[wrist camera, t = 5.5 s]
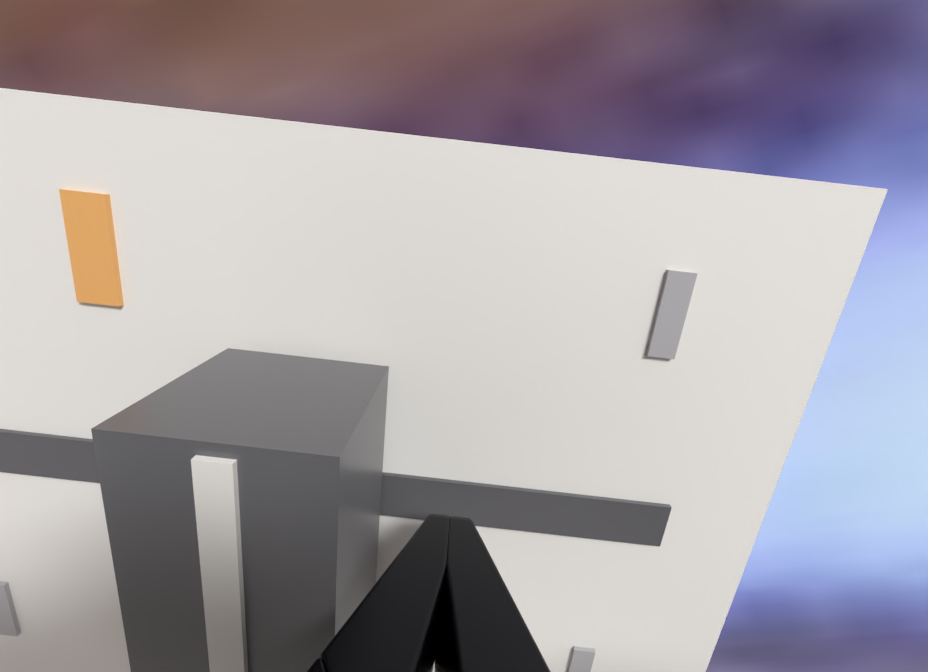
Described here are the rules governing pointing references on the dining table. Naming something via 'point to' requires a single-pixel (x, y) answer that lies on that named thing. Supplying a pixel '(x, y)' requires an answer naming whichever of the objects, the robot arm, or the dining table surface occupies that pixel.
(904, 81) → the dining table surface
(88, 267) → the console
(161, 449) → the fader
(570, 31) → the dining table surface
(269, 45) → the dining table surface
